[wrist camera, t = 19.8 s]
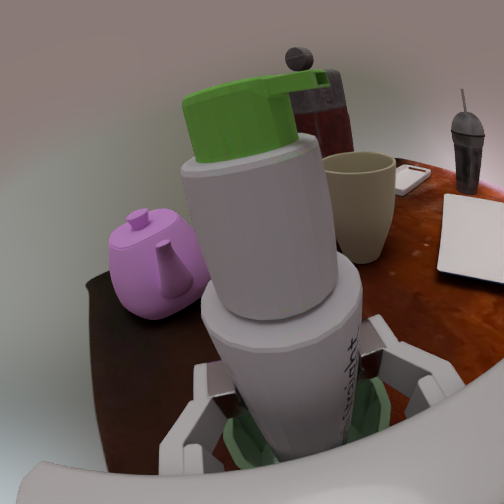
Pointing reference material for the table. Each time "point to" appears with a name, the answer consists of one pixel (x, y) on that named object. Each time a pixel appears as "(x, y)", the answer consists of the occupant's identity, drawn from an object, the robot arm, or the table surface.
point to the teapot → (156, 264)
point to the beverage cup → (467, 149)
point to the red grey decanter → (321, 108)
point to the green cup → (362, 425)
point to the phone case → (409, 179)
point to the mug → (361, 201)
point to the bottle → (273, 262)
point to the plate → (472, 239)
